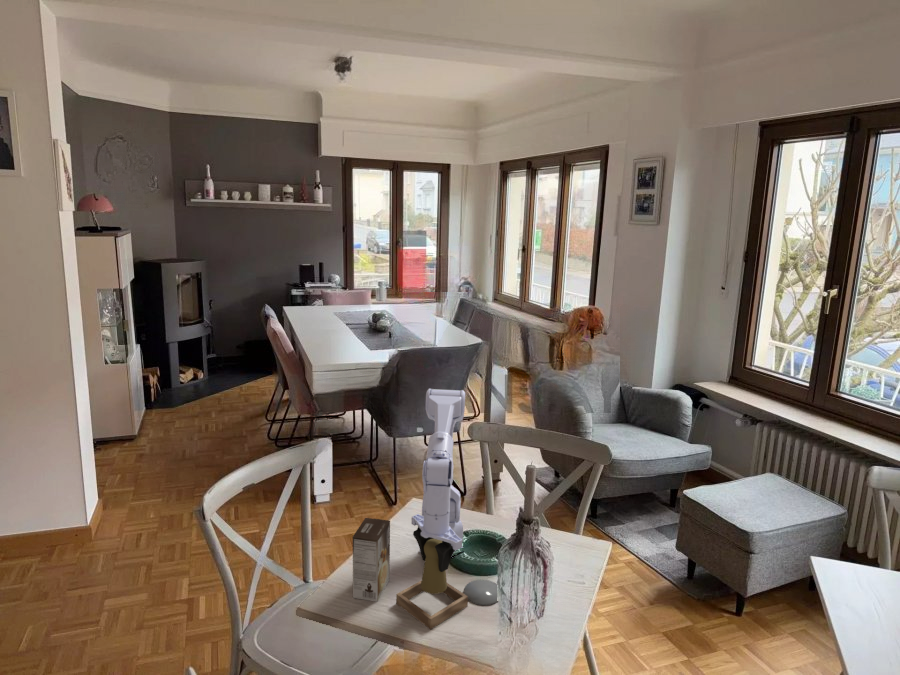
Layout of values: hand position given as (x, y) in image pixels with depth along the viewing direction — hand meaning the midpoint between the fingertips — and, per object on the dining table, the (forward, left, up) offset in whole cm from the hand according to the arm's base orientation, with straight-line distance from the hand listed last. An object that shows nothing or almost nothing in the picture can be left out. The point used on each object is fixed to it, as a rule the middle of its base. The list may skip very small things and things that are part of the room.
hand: (435, 564), depth 140 cm
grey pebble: (-11, +5, -10) cm, 16 cm away
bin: (+1, 0, -10) cm, 10 cm away
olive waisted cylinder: (0, 0, -6) cm, 6 cm away
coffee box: (+7, -14, -11) cm, 19 cm away
